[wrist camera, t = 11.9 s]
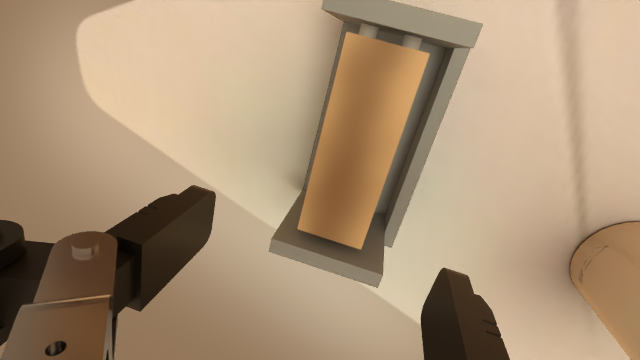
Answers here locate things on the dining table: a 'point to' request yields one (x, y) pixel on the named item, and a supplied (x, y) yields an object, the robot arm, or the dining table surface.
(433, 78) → the grey rack
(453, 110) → the dining table surface
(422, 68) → the shelf board
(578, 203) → the dining table surface
